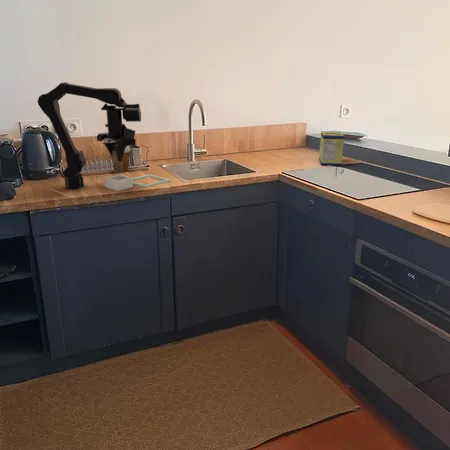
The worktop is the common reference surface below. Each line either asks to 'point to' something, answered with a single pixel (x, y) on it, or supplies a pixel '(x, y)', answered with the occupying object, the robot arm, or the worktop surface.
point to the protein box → (331, 148)
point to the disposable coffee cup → (125, 159)
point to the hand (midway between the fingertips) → (117, 160)
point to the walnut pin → (117, 164)
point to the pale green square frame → (151, 183)
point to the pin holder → (118, 182)
